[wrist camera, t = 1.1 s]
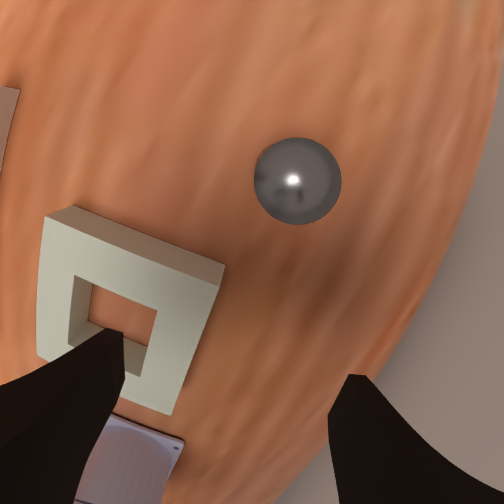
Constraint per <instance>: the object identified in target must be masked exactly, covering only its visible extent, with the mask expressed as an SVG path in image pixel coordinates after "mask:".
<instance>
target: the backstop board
mask: <svg viewBox="0 0 504 504" xmlns="http://www.w3.org/2000/svg"><path fill="white" fill-rule="evenodd" d="M19 93H20V89H14V88H9V87H3V86H0V174H1V168H2V162H3V157H4V152H5V147H6V142H7V138H8V134H9V129H10V125H11V122H12V118H13V114H14V110H15V107H16V103H17V100H18V97H19Z"/></svg>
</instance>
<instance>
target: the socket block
mask: <svg viewBox="0 0 504 504" xmlns="http://www.w3.org/2000/svg"><path fill="white" fill-rule="evenodd" d="M224 269H225V264H222V263H219V262H217V261H214V260H212V259H209V258H206V257H204V256H201V255H198V254H196V253H193V252H190V251H188V250H185V249H183V248H180V247H177V246H175V245H172V244H170V243H167V242H164V241H162V240H159V239H157V238H154V237H152V236H149V235H146V234H144V233H141V232H139V231H136V230H134V229H131V228H129V227H126V226H124V225H121V224H119V223H116V222H114V221H111V220H109V219H106V218H103V217H101V216H98V215H96V214H94V213H91V212H89V211H86V210H84V209H81V208H79V207H76V206H74V205H72V206H69V207H67V208H64V209H61V210H59V211H56V212H54V213H51V214H49V215H46V216H45V220H44V227H43V234H42V242H41V251H40V261H39V272H38V287H37V313H36V341H37V355H38V356H40V357H41V358H43V359H45V360H47V361H48V362H51V361H53V360H55V359H57V358H59V357H60V356H62V355H63V354H65V353H67V352H68V351H70V350H72V349H73V348H75V347H76V346H78V345H80V344H81V343H83V342H84V341H86V340H87V339H89V338H91V337H92V336H94V335H95V334H97V333H98V332H100V331H102V330H103V329H104V328H102V327H100V326H98V325H96V324H93V323H91V322H89V321H88V314H89V306H90V300H91V293H92V287H93V284H96V285H98V286H100V287H102V288H105V289H107V290H109V291H111V292H114V293H116V294H118V295H121V296H123V297H125V298H128V299H130V300H133V301H135V302H137V303H140V304H142V305H145V306H147V307H150V308H152V309H155V310H157V311H158V312H157V315H156V319H155V322H154V326H153V330H152V333H151V337H150V341H149V344H148V347H146V346H144V345H141V344H139V343H137V342H134V341H132V340H129V339H127V338H125V337H123V339H124V364H125V381H124V384H123V387H122V390H121V392H120V395H119V396H120V397H122V398H125V399H127V400H130V401H132V402H135V403H137V404H140V405H142V406H145V407H147V408H150V409H153V410H155V411H158V412H161V413H163V414H166V415H169V416H171V414H172V411H173V409H174V406H175V403H176V401H177V398H178V395H179V392H180V390H181V387H182V384H183V382H184V379H185V376H186V374H187V371H188V368H189V366H190V363H191V361H192V358H193V355H194V353H195V350H196V347H197V345H198V342H199V340H200V337H201V334H202V332H203V329H204V327H205V324H206V321H207V319H208V316H209V314H210V311H211V308H212V306H213V303H214V301H215V298H216V295H217V293H218V290H219V288H220V284H221V281H222V277H223V273H224Z"/></svg>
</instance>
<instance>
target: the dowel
mask: <svg viewBox="0 0 504 504" xmlns="http://www.w3.org/2000/svg"><path fill="white" fill-rule="evenodd" d="M254 187H255V192H256V195H257V198H258V200H259V202H260V204H261V205H262V207H263V208H264V209H265V210H266V211H267V212H268V213H269V214H270V215H271V216H272V217H274V218H276V219H277V220H279V221H281V222H284V223H288V224H295V225H301V224H308V223H311V222H314V221H316V220H318V219H320V218H322V217H323V216H325V215H326V214H327V213H328V212H329V211H330V210H331V209H332V208H333V206H334V205H335V203H336V201H337V199H338V197H339V194H340V190H341V173H340V169H339V166H338V164H337V161H336V160H335V158H334V156H333V155H332V154H331V153H330V152H329V151H328V150H327V149H326V148H325V147H324V146H322V145H321V144H319V143H317V142H315V141H313V140H310V139H306V138H290V139H285V140H282V141H280V142H277V143H274V144H272V145H270V146H268V147H267V148H266V149H264V150H263V151H262V152H261V154H260V155H259V157H258V159H257V162H256V166H255V175H254Z"/></svg>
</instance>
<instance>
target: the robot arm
mask: <svg viewBox="0 0 504 504" xmlns="http://www.w3.org/2000/svg"><path fill="white" fill-rule="evenodd" d="M124 381H125V364H124V339H123V332H119V331H116V330H112V329H109V328H105V329H103V330H102V331H100V332H98V333H97V334H95V335H94V336H92V337H91V338H89V339H87V340H86V341H84V342H83V343H81V344H80V345H78V346H76V347H75V348H73V349H72V350H70V351H68V352H67V353H65V354H63V355H62V356H60V357H59V358H57V359H55V360H53V361H51V362H50V363H48V364H46V365H44V366H42V367H40V368H39V369H37V370H35V371H33V372H31V373H29V374H27V375H25V376H23V377H20V378H18V379H16V380H13V381H11V382H8V383H6V384H3V385H1V386H0V504H161V503H162V499H163V495H164V490H165V486H166V483H167V481H168V479H169V476H170V474H171V472H172V470H173V468H174V466H175V464H176V462H177V460H178V458H179V455H180V453H181V451H182V449H183V447H184V442H183V441H182V440H180V439H177V438H174V437H171V436H168V435H165V434H162V433H159V432H156V431H153V430H151V429H148V428H145V427H143V426H140V425H138V424H135V423H132V422H130V421H127V420H125V419H123V418H120V417H118V416H115V415H113V414H111V413H112V411H113V409H114V407H115V405H116V403H117V400H118V398H119V395H120V392H121V390H122V387H123V384H124ZM328 435H329V445H330V451H331V456H332V462H333V467H334V473H335V478H336V484H337V490H338V496H339V503H340V504H504V492H501V491H499V490H496V489H494V488H492V487H490V486H488V485H486V484H484V483H482V482H480V481H479V480H477V479H475V478H473V477H472V476H470V475H469V474H467V473H465V472H464V471H462V470H461V469H460V468H458V467H457V466H455V465H454V464H452V463H451V462H450V461H448V460H447V459H446V458H444V457H443V456H442V455H441V454H440V453H439V452H437V451H436V450H435V449H434V448H432V447H431V446H430V445H429V444H428V443H427V442H426V441H425V440H424V439H423V438H422V437H421V436H420V435H419V434H418V433H417V432H416V431H415V430H414V429H413V428H412V427H411V426H410V425H409V424H408V423H407V422H406V421H405V420H404V418H403V417H402V416H401V415H400V414H399V413H398V412H397V411H396V410H395V408H394V407H393V406H392V405H391V404H390V403H389V401H388V400H387V399H386V398H385V397H384V396H383V394H381V392H380V391H379V390H378V389H377V387H376V386H375V385H374V384H373V383H372V382H371V381H370V380H369V379H368V378H367V376H366V375H354V374H349V375H348V377H347V379H346V381H345V383H344V385H343V387H342V389H341V391H340V393H339V395H338V397H337V398H336V400H335V402H334V404H333V406H332V408H331V410H330V412H329V414H328Z"/></svg>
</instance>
